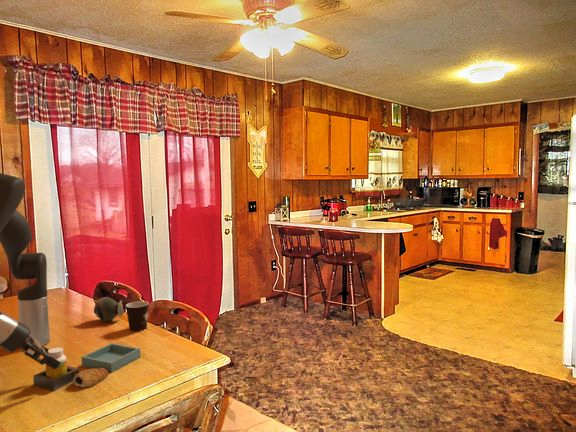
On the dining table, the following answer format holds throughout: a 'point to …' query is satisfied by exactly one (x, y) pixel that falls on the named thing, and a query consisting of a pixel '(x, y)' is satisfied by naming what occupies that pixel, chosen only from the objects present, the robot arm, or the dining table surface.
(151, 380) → the dining table surface
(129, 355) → the tray
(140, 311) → the coffee mug
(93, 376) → the pastry
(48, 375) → the supplement bottle
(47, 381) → the collar
